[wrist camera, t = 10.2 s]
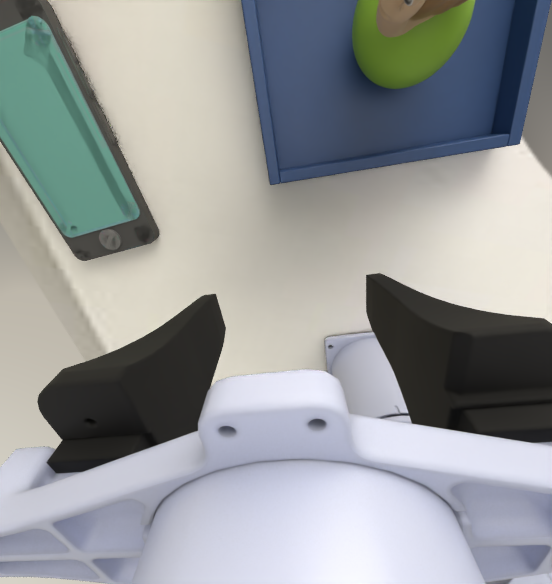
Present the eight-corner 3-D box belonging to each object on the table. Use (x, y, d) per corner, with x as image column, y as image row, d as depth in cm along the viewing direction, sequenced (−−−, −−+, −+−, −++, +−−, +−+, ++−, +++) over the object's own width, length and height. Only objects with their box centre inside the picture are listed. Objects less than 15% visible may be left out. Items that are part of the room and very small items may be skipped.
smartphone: (77, 263, 23) (-76, 29, 16) (86, 257, 24) (-54, 36, 17) (158, 241, 22) (30, -21, 15) (165, 236, 23) (48, -10, 16)
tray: (552, -166, 13) (601, -221, 11) (495, 144, 19) (520, 144, 17) (231, -81, 15) (222, -116, 13) (271, 180, 21) (270, 185, 19)
